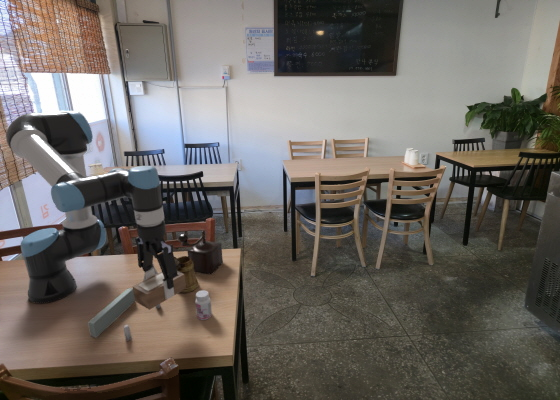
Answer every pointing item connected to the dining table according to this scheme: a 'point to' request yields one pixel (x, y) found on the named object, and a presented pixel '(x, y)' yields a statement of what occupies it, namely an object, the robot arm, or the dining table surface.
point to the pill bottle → (203, 305)
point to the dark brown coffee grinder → (203, 254)
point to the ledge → (113, 314)
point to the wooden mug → (187, 272)
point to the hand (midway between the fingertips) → (161, 292)
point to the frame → (156, 290)
